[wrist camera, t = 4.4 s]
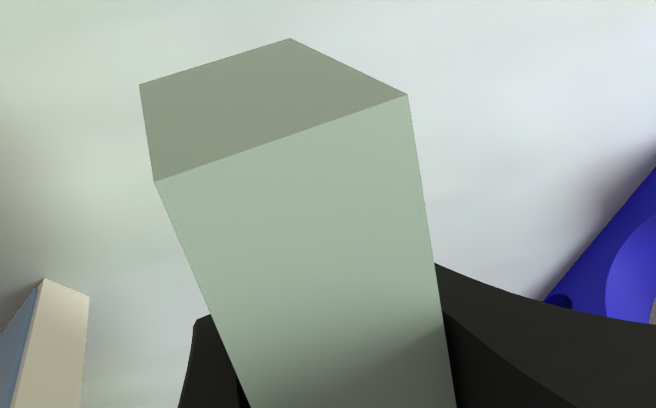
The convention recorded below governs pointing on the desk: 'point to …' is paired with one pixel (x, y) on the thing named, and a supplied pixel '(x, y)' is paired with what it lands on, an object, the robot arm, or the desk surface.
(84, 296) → the tile
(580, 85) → the desk surface
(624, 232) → the cable clip
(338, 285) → the block
